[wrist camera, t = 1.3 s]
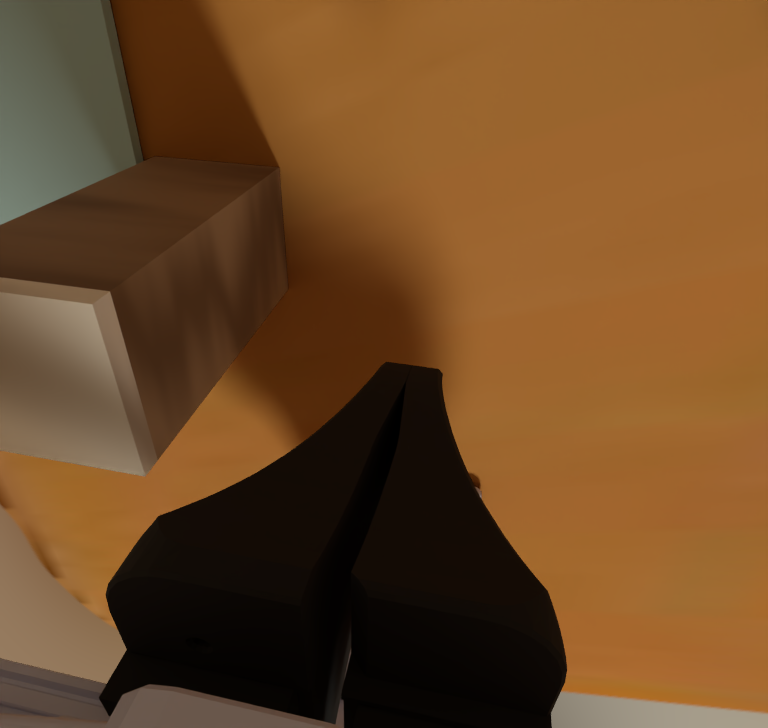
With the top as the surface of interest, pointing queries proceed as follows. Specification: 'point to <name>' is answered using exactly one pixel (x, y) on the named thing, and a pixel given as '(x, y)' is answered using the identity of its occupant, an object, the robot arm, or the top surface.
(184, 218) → the walnut block
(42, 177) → the mat
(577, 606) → the top surface
